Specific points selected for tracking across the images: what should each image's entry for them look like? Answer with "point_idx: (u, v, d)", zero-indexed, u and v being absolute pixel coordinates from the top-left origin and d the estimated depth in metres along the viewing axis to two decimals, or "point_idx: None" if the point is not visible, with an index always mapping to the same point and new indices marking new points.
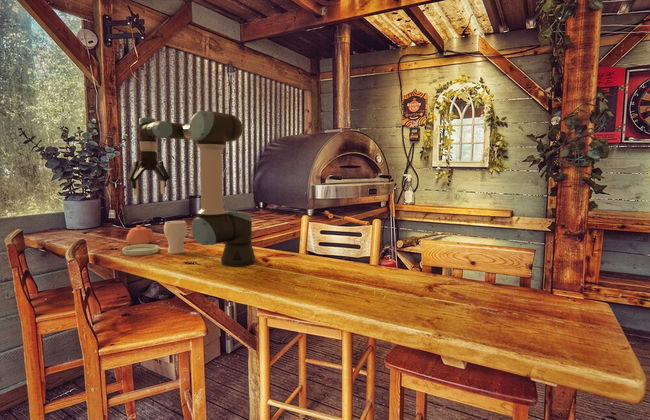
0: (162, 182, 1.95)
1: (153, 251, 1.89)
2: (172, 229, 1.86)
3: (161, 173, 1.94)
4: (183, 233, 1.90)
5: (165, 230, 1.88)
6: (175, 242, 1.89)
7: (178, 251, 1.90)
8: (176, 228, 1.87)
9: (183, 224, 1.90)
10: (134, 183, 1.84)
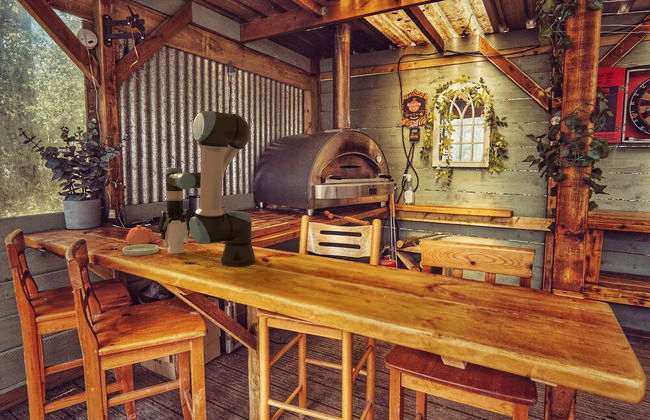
0: None
1: (153, 251, 1.89)
2: (172, 229, 1.86)
3: None
4: (183, 233, 1.90)
5: None
6: (175, 242, 1.89)
7: (178, 251, 1.90)
8: (176, 228, 1.87)
9: (183, 224, 1.90)
10: (163, 234, 1.86)
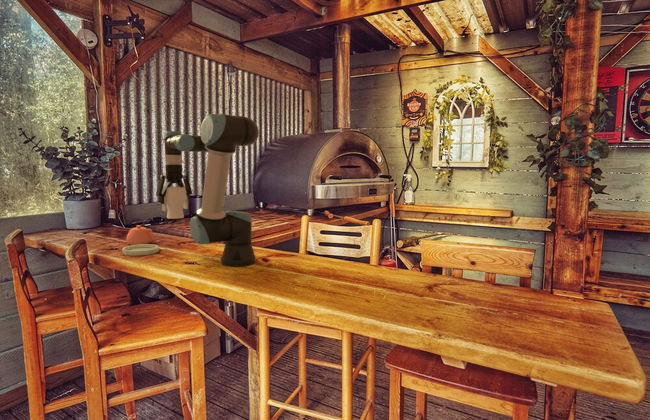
0: None
1: (153, 251, 1.89)
2: (171, 193, 1.84)
3: None
4: (182, 198, 1.88)
5: None
6: (174, 207, 1.87)
7: (177, 216, 1.88)
8: (175, 192, 1.85)
9: (182, 189, 1.88)
10: (162, 198, 1.84)
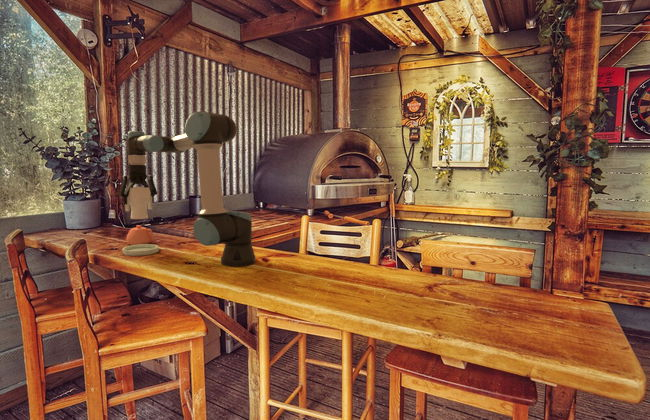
0: None
1: (153, 251, 1.89)
2: (134, 193, 1.84)
3: (149, 188, 1.92)
4: (146, 198, 1.87)
5: None
6: (137, 208, 1.86)
7: (141, 216, 1.87)
8: (138, 193, 1.84)
9: (146, 189, 1.87)
10: (125, 199, 1.83)
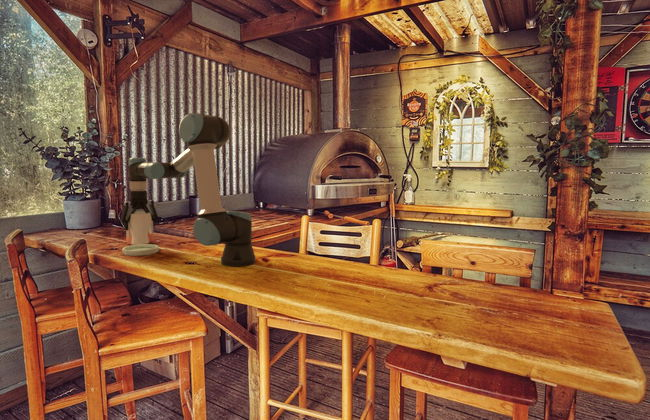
0: None
1: (153, 251, 1.89)
2: (135, 219, 1.85)
3: (150, 213, 1.93)
4: (147, 224, 1.88)
5: None
6: (138, 233, 1.88)
7: (142, 242, 1.89)
8: (139, 218, 1.85)
9: (147, 215, 1.88)
10: (126, 225, 1.85)
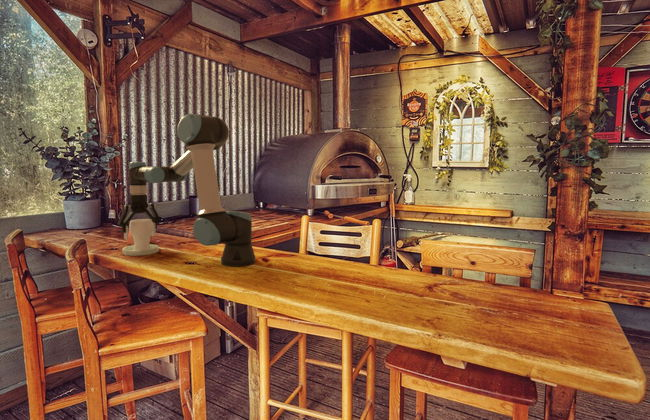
0: (153, 224, 1.95)
1: (153, 251, 1.89)
2: (137, 227, 1.86)
3: (151, 215, 1.94)
4: (148, 231, 1.89)
5: (130, 228, 1.87)
6: (140, 241, 1.89)
7: (144, 249, 1.90)
8: (141, 226, 1.86)
9: (148, 222, 1.89)
10: (124, 227, 1.84)
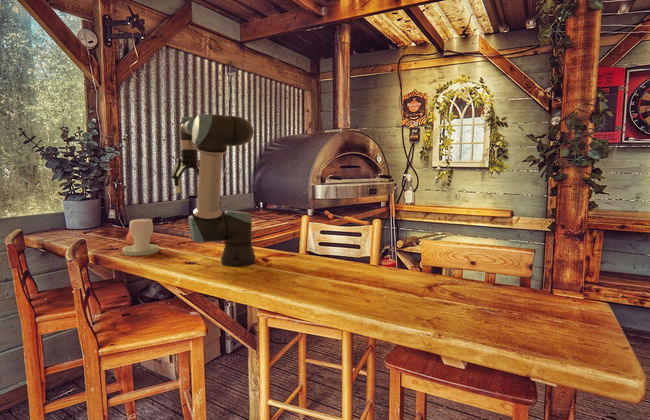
0: None
1: (153, 251, 1.89)
2: (137, 227, 1.86)
3: None
4: (149, 231, 1.89)
5: (130, 228, 1.87)
6: (140, 241, 1.89)
7: (144, 249, 1.90)
8: (141, 226, 1.86)
9: (149, 222, 1.89)
10: (177, 180, 1.89)
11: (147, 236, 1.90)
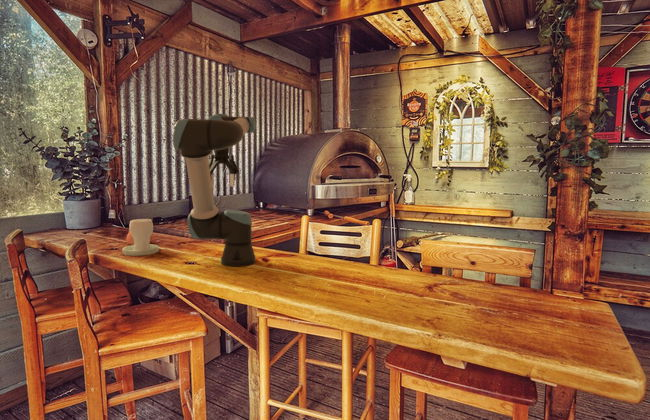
0: (232, 175, 2.06)
1: (153, 251, 1.89)
2: (137, 227, 1.86)
3: (232, 166, 2.04)
4: (149, 231, 1.89)
5: (130, 228, 1.87)
6: (140, 241, 1.89)
7: (144, 249, 1.90)
8: (141, 226, 1.86)
9: (149, 222, 1.89)
10: (210, 176, 1.95)
11: (147, 236, 1.90)
